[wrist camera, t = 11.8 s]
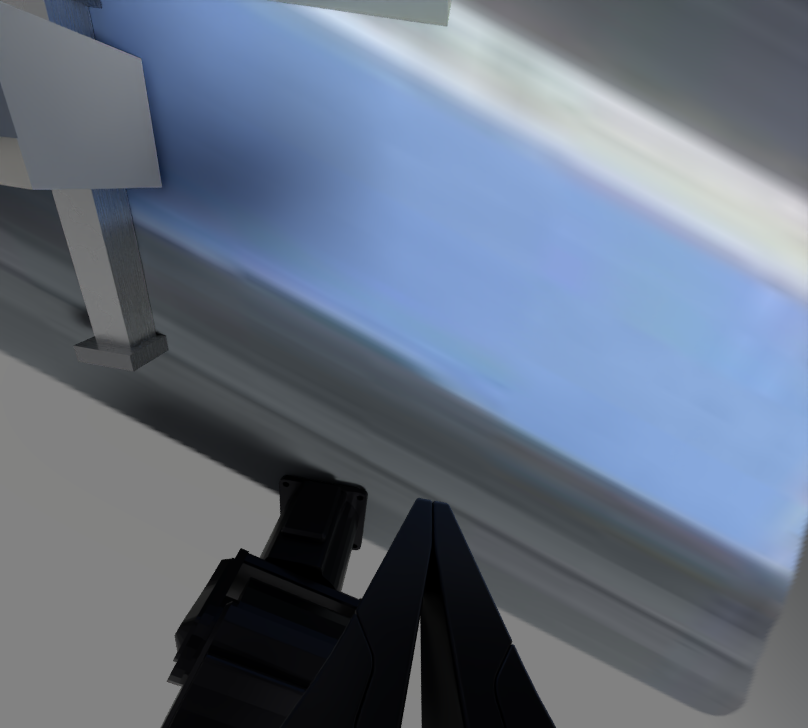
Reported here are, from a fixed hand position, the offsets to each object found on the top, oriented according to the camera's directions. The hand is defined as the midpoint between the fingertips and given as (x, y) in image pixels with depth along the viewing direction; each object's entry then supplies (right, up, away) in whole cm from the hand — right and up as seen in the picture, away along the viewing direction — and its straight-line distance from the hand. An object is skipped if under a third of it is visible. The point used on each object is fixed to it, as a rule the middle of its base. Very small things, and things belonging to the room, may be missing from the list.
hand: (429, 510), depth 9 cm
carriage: (-15, +15, +7) cm, 23 cm away
